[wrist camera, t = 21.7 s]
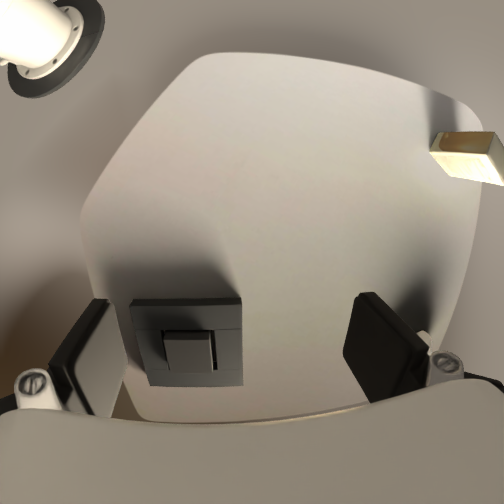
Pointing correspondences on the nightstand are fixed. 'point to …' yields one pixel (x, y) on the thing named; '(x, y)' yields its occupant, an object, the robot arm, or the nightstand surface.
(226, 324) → the frame pad
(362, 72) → the nightstand surface
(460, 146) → the cosmetic box
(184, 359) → the dark grey square block
